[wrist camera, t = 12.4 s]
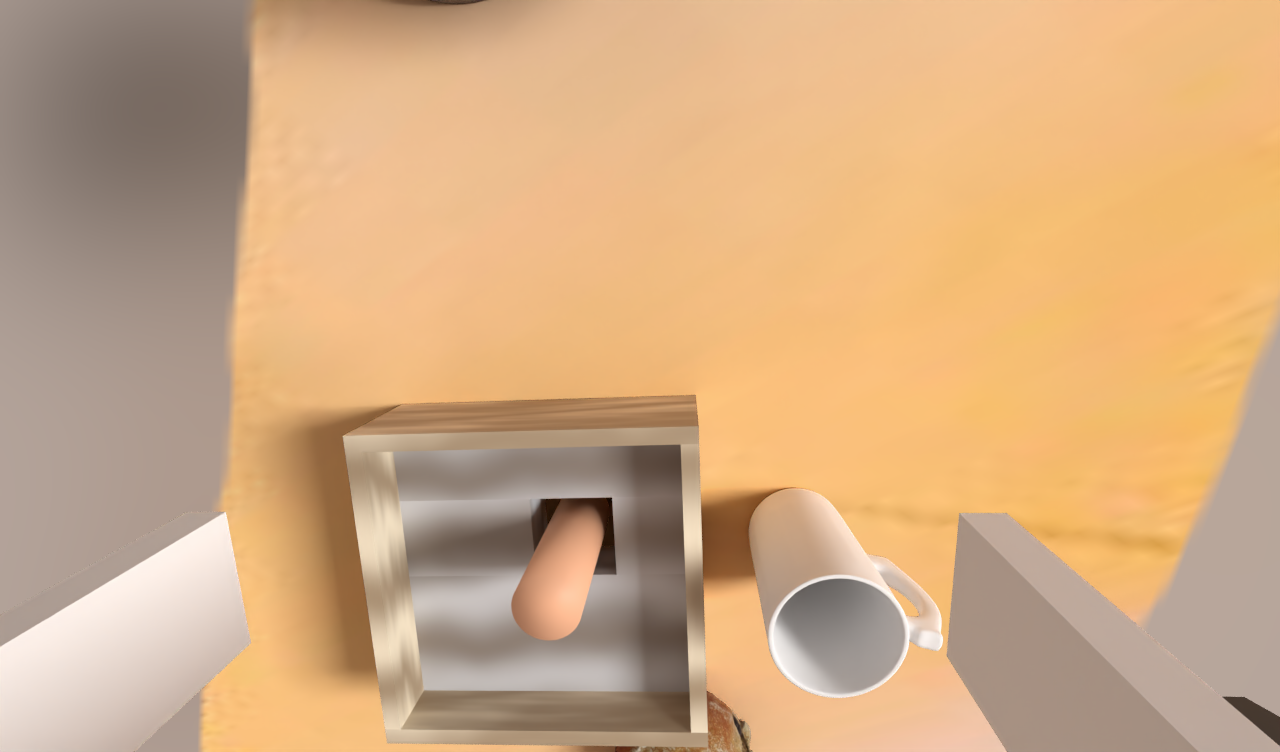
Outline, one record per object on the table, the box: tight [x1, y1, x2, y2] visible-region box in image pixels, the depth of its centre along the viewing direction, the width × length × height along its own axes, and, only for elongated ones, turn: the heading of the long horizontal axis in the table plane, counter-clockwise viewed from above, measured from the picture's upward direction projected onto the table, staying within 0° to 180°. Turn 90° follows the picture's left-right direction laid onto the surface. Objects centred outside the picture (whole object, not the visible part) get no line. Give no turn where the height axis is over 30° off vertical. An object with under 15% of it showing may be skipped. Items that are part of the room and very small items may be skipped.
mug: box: [749, 488, 943, 698], centre depth 36 cm, size 10×7×12 cm, turn 80°
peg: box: [511, 498, 610, 640], centre depth 37 cm, size 4×4×12 cm
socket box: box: [343, 395, 708, 747], centre depth 39 cm, size 20×20×8 cm
